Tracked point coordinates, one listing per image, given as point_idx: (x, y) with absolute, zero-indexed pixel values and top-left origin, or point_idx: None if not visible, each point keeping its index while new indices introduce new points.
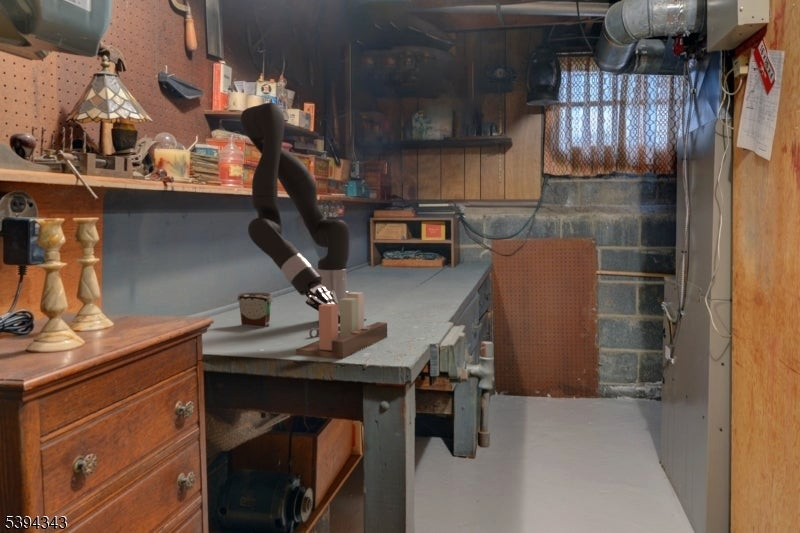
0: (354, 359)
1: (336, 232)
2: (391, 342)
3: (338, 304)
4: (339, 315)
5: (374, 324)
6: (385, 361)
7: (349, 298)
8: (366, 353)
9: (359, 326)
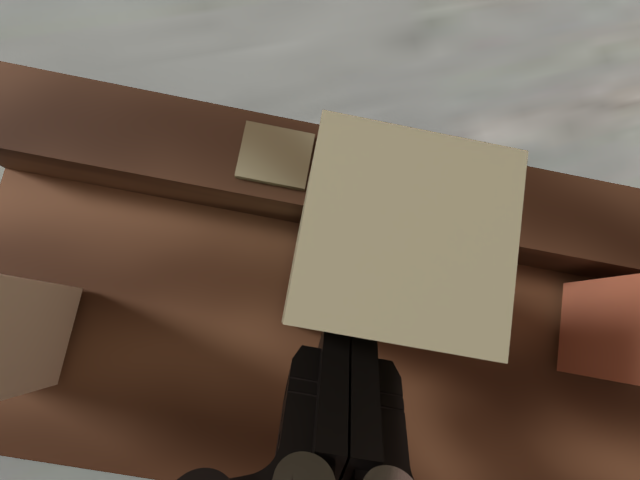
0: (626, 167)
1: None
2: (191, 60)
3: (191, 473)
4: (374, 370)
5: (72, 140)
6: (614, 17)
7: (353, 238)
8: (490, 139)
9: (41, 281)
